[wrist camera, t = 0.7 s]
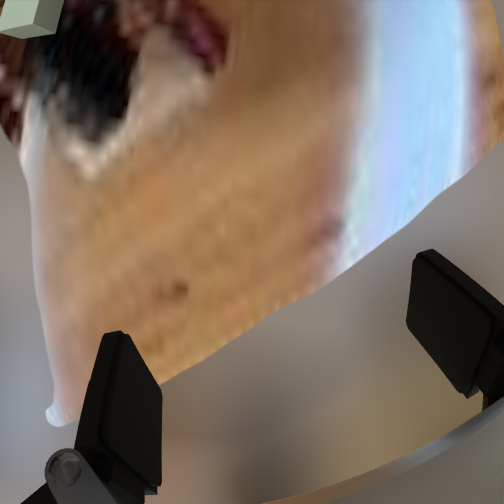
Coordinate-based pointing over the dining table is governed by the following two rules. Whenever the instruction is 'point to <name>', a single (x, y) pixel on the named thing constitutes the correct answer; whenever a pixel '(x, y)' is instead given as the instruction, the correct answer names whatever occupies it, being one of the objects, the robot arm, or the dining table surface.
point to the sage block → (30, 17)
